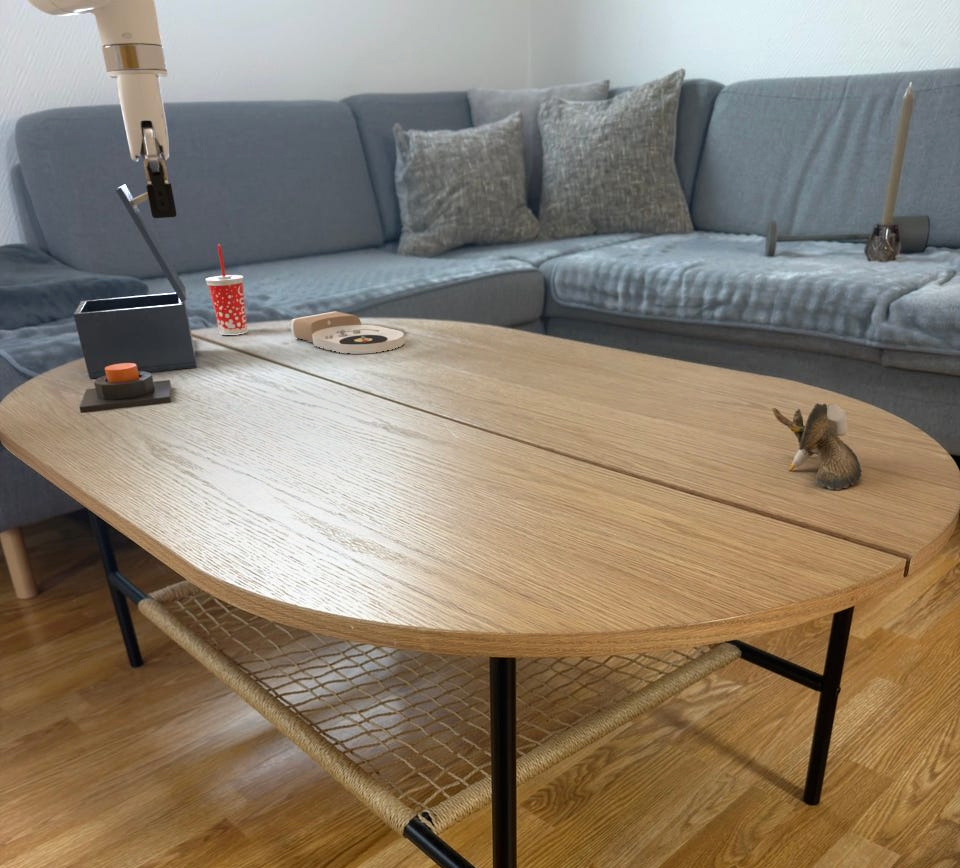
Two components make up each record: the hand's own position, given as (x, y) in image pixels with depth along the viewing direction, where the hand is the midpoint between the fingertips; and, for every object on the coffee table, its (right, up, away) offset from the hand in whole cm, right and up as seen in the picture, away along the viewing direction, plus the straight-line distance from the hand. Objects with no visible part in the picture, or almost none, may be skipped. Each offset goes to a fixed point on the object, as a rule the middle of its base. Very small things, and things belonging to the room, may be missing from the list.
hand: (164, 214), depth 121 cm
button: (+1, -28, -17) cm, 33 cm away
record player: (+24, -14, +15) cm, 31 cm away
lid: (-2, -4, +1) cm, 5 cm away
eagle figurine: (+74, -43, -44) cm, 96 cm away
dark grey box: (-6, -19, +8) cm, 21 cm away
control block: (+1, -31, -15) cm, 34 cm away
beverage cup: (+2, -9, +26) cm, 28 cm away
